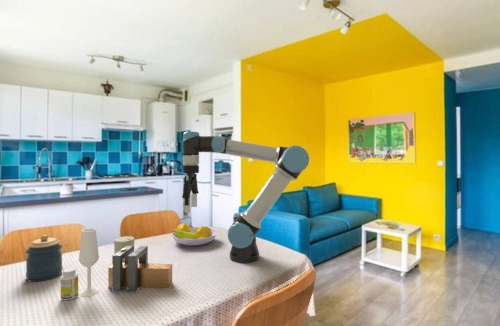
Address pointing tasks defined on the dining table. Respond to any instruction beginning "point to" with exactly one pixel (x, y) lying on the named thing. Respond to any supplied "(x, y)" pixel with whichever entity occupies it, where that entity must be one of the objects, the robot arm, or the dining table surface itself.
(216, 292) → the dining table surface
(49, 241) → the canister
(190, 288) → the dining table surface
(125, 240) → the can
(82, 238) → the champagne flute
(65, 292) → the supplement bottle
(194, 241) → the fruit bowl
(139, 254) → the collar
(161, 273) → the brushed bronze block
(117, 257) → the collar
